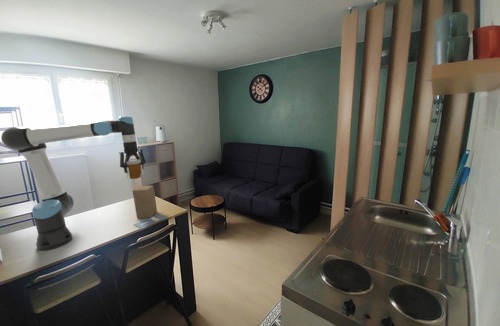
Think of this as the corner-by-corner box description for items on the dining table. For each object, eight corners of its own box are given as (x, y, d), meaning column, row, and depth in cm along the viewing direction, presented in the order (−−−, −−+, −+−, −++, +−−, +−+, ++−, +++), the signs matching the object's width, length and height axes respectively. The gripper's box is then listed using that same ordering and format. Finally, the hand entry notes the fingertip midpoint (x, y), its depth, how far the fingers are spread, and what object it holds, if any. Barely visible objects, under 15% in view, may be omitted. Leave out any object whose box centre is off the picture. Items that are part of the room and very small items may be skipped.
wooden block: (150, 217, 150) (147, 189, 146) (136, 218, 150) (132, 190, 146) (157, 211, 160) (153, 185, 156) (143, 211, 160) (139, 185, 156)
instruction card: (141, 229, 136) (141, 228, 136) (133, 224, 141) (133, 224, 141) (167, 217, 150) (167, 217, 150) (158, 214, 156) (158, 213, 155)
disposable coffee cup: (143, 178, 142) (140, 160, 139) (126, 180, 138) (123, 162, 136) (143, 174, 151) (140, 157, 148) (127, 176, 147) (124, 159, 144)
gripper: (114, 144, 129) (121, 180, 134) (148, 139, 145) (153, 172, 150) (109, 143, 133) (115, 179, 138) (142, 139, 150) (147, 171, 155)
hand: (135, 175), depth 144 cm, fingers closed on disposable coffee cup, 8 cm apart
